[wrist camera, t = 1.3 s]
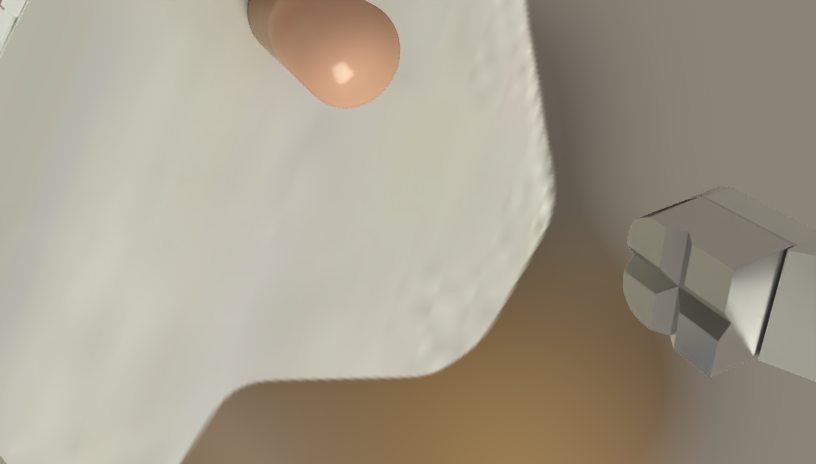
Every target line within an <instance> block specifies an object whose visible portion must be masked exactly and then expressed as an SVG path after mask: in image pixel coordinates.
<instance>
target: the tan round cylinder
mask: <svg viewBox="0 0 816 464" xmlns="http://www.w3.org/2000/svg"><path fill="white" fill-rule="evenodd" d="M248 20H249V25H250V28H251V30H252V33H253V35H254V36H255V38H256V39H257V41H258V42H259V43H260V44H261V45H262V46H263V47H264V48H265V49H266V50H267V51H268V52H269V53H270V54H271V55H272V56H273V57H274V58H276V59H277V60H278V61H279V62H280V63H281V64H282V65H283V66H284V67H285V68H286V69H287V70H288V71H289V72H290V73H291V74H292V75H293V76H294V77H295V78H296V79H297V80H298V81H300V82H301V83H302V84H303V85H304V86H305V87H306V88H307V89H308V90H309V91H310V92H311V93H312V94H313V95H314V96H315V97H316V98H318V99H319V100H320V101H322V102H324V103H325V104H328V105H330V106H333V107H338V108H354V107H359V106H362V105H364V104H367V103H369V102H371V101H372V100H374V99H375V98H377V97H378V96H379V95H380V94H381V93H382V92H383V91H384V90H385V89H386V88H387V87H388V85H389V84H390V82H391V81H392V79H393V77H394V75H395V73H396V70H397V67H398V63H399V58H400V43H399V37H398V34H397V31H396V28H395V26H394V24H393V23H392V21H391V20H390V18H389V17H388V16H387V15H386V14H385V13H384V12H383V11H382V10H381V9H379V8H378V7H376V6H374V5H372V4H370V3H369V2H367V1H365V0H249V4H248Z"/></svg>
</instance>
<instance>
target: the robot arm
mask: <svg viewBox="0 0 816 464" xmlns="http://www.w3.org/2000/svg"><path fill="white" fill-rule="evenodd" d="M627 245H628V247H629V248H630V249H631V251H632V252H633V253H634V255H633V257H632V258H631V260H630V261H629V263H628V265H627V266H626V268H625V270H624V278H623V292H624V294H625V297H626V300H627V303H628V306H629V308H630V309H631V311H632V312H633V313H634V315H635V316H636V317H637V319H638V320H639V321H641V322H642V323H643V324H644V325H645V326H647V327H648V328H649V329H650V330H653V331H657V332H660V333H664V334H667V335H671V340H672V344H673V348H674V349H675V350H676V351H677V352H678V353H680V354H681V355H682V356H683V357H685V358H686V359H687V360H688V361H689V362H691V363H692V364H693V365H695V366H696V367H697V368H698V369H700V370H701V371H702V372H703V373H704V374H706V375H707V376H708V377H709V378H711V377H714V376H716V375H718V374H721V373H723V372H725V371H727V370H730V369H732V368H734V367H736V366H739V365H741V364H743V363H745V362H748V361H750V360H752V359H754V358H757V357H759V359H758V360H759V361H762V362H765V363H767V364H770V365H773V366H775V367H778V368H781V369H783V370H786V371H789V372H791V373H794V374H797V375H800V376H802V377H805V378H807V379H810V380H813V381H815V382H816V230H814V229H813V228H811V227H808V226H806V225H805V224H803V223H801V222H799V221H797V220H795V219H793V218H791V217H789V216H787V215H785V214H783V213H781V212H779V211H777V210H775V209H773V208H771V207H769V206H767V205H765V204H764V203H762V202H760V201H757V200H756V199H754V198H752V197H750V196H748V195H746V194H744V193H742V192H740V191H738V190H736V189H734V188H730V187H722V186H719V187H716V188H714V189H711V190H709V191H706V192H704V193H701V194H698V195H696V196H693V197H692V198H690V199H688V200H685V201H682V202H679V203H677V204H674V205H672V206H668V207H666V208H663V209H660V210H658V211H655V212H652V213H650V214H647V215H644V216H642V217H639V218H636V219H635V220H634V222H633V224H632V225H631V227H630V229H629V233H628V241H627ZM0 464H6V463H5V461H4V460H3V458H2V457H1V456H0Z"/></svg>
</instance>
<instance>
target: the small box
mask: <svg viewBox="0 0 816 464" xmlns="http://www.w3.org/2000/svg"><path fill="white" fill-rule="evenodd" d="M29 1H30V0H0V59H1V56H2V54H3V52H4V50H5V48H6V46H7V44H8V41H9V39H10V37H11V35H12V34H13V32H14V30H15V28H16V26H17V24H18V22H19V20H20V18H21V16H22V14H23V12H24V10H25V8H26V6H27V4H28V3H29Z"/></svg>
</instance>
